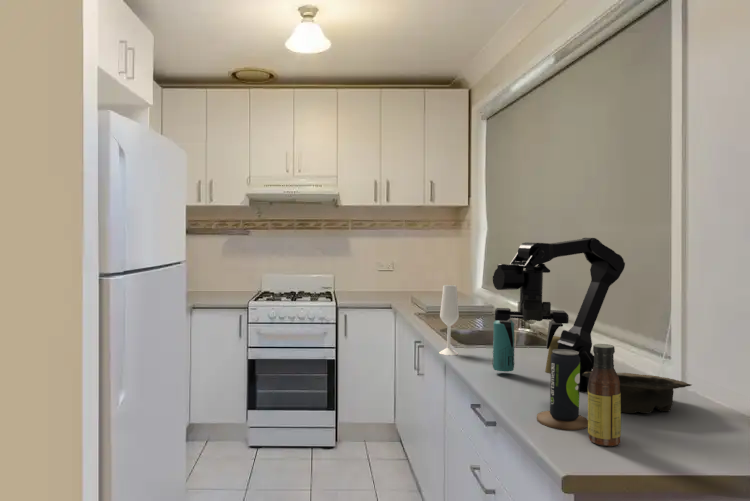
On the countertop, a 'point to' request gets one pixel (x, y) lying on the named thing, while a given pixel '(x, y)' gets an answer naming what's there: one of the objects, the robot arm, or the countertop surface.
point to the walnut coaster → (561, 422)
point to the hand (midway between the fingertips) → (529, 347)
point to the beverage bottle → (503, 348)
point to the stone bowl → (645, 392)
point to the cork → (552, 347)
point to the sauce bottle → (604, 398)
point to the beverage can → (565, 385)
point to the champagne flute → (449, 313)
